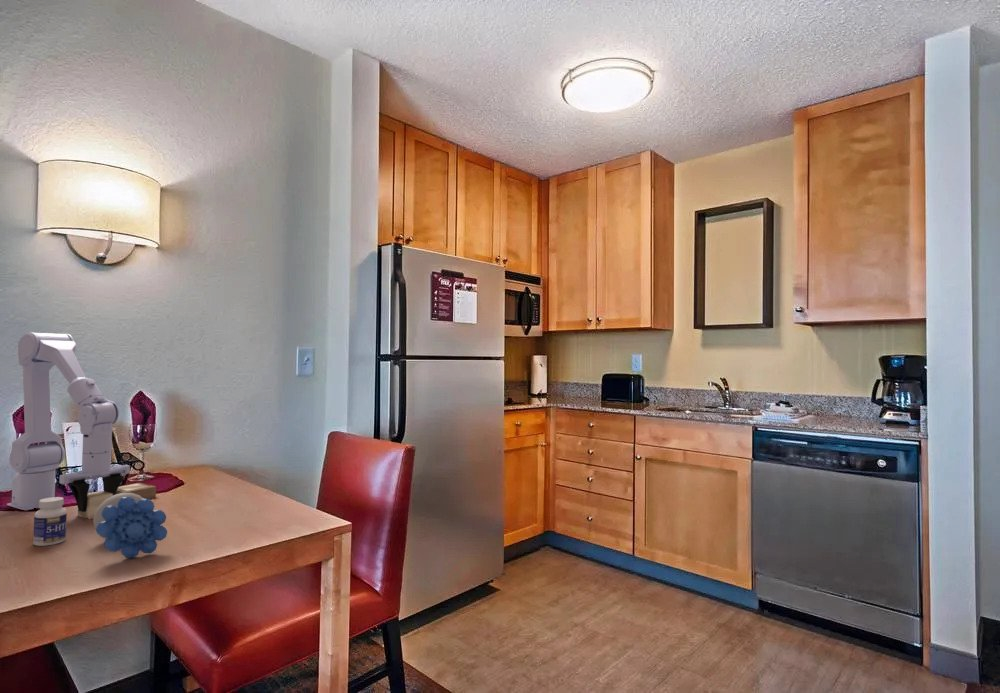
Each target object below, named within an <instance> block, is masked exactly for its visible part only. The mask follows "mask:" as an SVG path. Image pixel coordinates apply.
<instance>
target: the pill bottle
mask: <svg viewBox="0 0 1000 693" xmlns="http://www.w3.org/2000/svg"><path fill="white" fill-rule="evenodd" d="M64 500H65V499H64V497H62V496H55V497H51V498H45V499H41V500H40V501H39V508H38V510H37V511H36V512H35V513H34V516H33V517H34V518H33V536H32V538H33V539H32V543H33V545H34V546H36V547H47V546H48V547H49V546H53V545H57V544H61V543H63V542H65V541H66V538H67V537H66V536H67V519H68V518H67V516H68V515H67V514H68V511H67V509H66V508H65V507H63V506H64Z"/></svg>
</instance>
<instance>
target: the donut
mask: <svg viewBox="0 0 1000 693" xmlns="http://www.w3.org/2000/svg"><path fill="white" fill-rule="evenodd" d="M123 497H132V498H133V499H134V500H135V501H136V504H137V502H138V501H139V500H141V499H143V498H142V497H141V496H139V495H137V494H133V493H120V494H116V495H113V496H111V497H109V498H108V499H106V500H105V501H104V502H103V503H102V504H100V505H99V507H98V509H97V510H96V512H95V515H94V518H92V519H93V521H92V522H93V529H94V531H95V532H96V533H97V531H96V528H97V525H98V524H99V523H101V522H103V521H106V520H105V519H104V518H103V517H102V511H103V509H104V508H105V507H107V506H109V505H110V506H116V507H118V502H119V500H120V499H121V498H123ZM102 538H103V539H104V540H105V539H106V538H108V537H102Z"/></svg>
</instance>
